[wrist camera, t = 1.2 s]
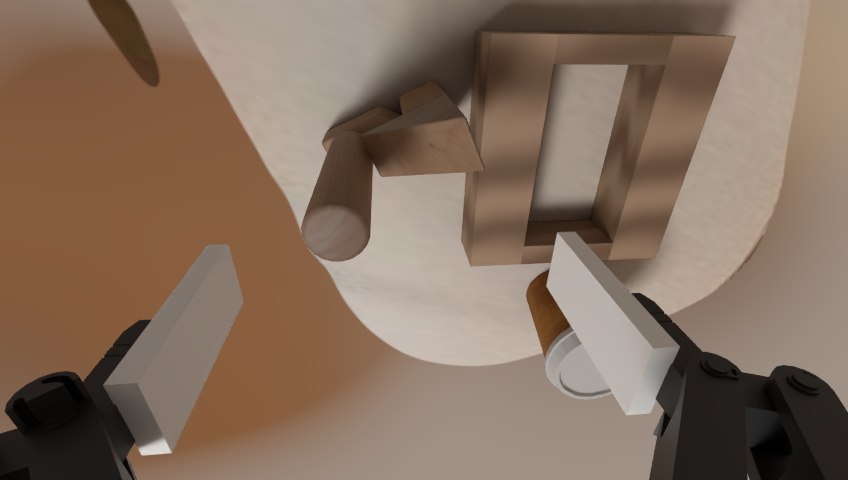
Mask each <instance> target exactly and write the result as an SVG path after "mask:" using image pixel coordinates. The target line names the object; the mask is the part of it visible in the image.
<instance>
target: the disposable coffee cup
mask: <svg viewBox="0 0 848 480" xmlns="http://www.w3.org/2000/svg"><path fill="white" fill-rule="evenodd" d="M548 275H549V271H548V272H545V273H543V274H541V275H539V276H538V277H537V278H535V279H534V280H533V281H532V283H531V284H530V285H529V287H528V290H527V294H526V298H527V302H528V304H529V308H530V311H531V314H532V317H533V321H534V324H535V327H536V330H537V333H538V337H539V340H540V343H541V346H542V350H543V353H544V356H545V371H546V374H547V376H548V379H549V380H550V381H551V383H552V384H553V385H555V386H556V387H558V388H559V389H560V390H561V392H563V393H564V394H566V395H568V396H570V397H573V398H577V399H594V398H600V397H603V396H606V395H609V394H612V391H611V390H610V388H609V386H608V385H607V383H606V382H605V380H604V378H603V377H602V375H601V374H600V372H599V370H598V369H597V367H596V366H595V364H594V362H593V361H592V359H591V357H590V356H589V354H588V353H587V351H586V349H585V348H584V346H583V345H582V343H581V341H580V340H579V338H578V337H577V335H576V333H575V332H574V330H573V328H572V327H571V325H570V324H569V322H568V320H567V319H566V317H565V316H564V314H563V312H562V311H561V309H560V308H559V306H558V304H557V303H556V301H555V300H554V298H553V296H552V295H551V293H550V291H549V290H548V288H547V287H546V285H547V280H548Z"/></svg>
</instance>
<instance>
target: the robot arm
mask: <svg viewBox="0 0 848 480" xmlns="http://www.w3.org/2000/svg"><path fill="white" fill-rule="evenodd" d="M546 287H547V288H548V290H549V291H550V293H551V295H552V296H553V298H554V300H555V301H556V303H557V304H558V306H559V308H560V309H561V311H562V312H563V314H564V316H565V317H566V319H567V320H568V322H569V324H570V325H571V327H572V328H573V330H574V332H575V333H576V335H577V337H578V338H579V340H580V341H581V343H582V345H583V346H584V348H585V349H586V351H587V353H588V354H589V356H590V357H591V359H592V361H593V362H594V364H595V366H596V367H597V369H598V370H599V372H600V374H601V375H602V377H603V378H604V380H605V382H606V383H607V385H608V386H609V388H610V390H611V391H612V393H613V394H614V396H615V398H616V399H617V401H618V403H619V404H620V406H621V407H622V409H623V411H624V412H625V414H626V415H635V414H647V413H650V412H651V410H652V408H653V406H654V403H655V401H656V400H657V401H658V402H659V404H660V405H661V407H662V408H663V409H664V412H663V414H662V416H661V418H660V421H659V423H658V425H657V427H656V429H655V431H654V433H653V434H654V435H656V436H657V440H656V446H655V451H654V457H653V462H652V467H651V473H650V478H649V480H747V473H748V476H749V479H750V480H848V412H847V411H846V409H845V407H844V406H843V404H842V403H841V401H840V400H839V398H838V396H837V395H836V393H835V392H834V391H833V389H831V387H830V386H829V385H828V384H827V383H826V382H824V381H823V380H822V379H820V378H819V377H817V376H816V375H814V374H812V373H810V372H808V371H806V370H803V369H800V368H797V367H794V366H786V365H782V366H777V367H776V368H775V369H774V370H773V371H772V373H771V375H770V376H769V377H765V376H760V375H754V374H749V373H743V372H741V371H740V370H739V369H738V367H737V366H736V365H734V364H733V363H731V362H730V361H728V360H727V359H725V358H723V357H721V356H719V355H716V354H713V353H709V352H702V351H701V350H700V349H699V348H698V347H697V346H696V345H695V343H693V341H692V340H690V338H689V337H688V336H687V335H686V334H685V333H684V332H683V331H682V330H681V329H680V328H679V327H678V326H677V325H676V324H675V323H673V322H672V320H671V319H670V318H669V317H668V316H667V314H664V311H663V310H662V309H661V308H660V307H659V306H658V305H657V304H656V303H655V302H654V301H652V300H651V299H649V298H647V297H646V296H644V295H642V294H641V293H630V291H629V290H628V289H627V288H626V287H625V286H624V285H623V284H622V283H621V282H620V281H619V279H618V278H617V277H616V276H615V275H614V274H613V273H612V272H611V271H610V270H609V268H608V267H607V266H606V265H605V264H604V263H603V262H602V261H601V260H600V259H599V257H598V256H597V255H596V254H595V253H594V252H593V251H592V250H591V249H590V248H589V247H588V245H587V244H586V243H585V242H584V241H583V240H582V239H581V238H580V237H579V236H578V234H577V233H576V232H557V236H556V241H555V246H554V251H553V256H552V261H551V266H550V270H549V275H548V280H547V285H546ZM242 303H243V298H242V294H241V290H240V286H239V283H238V279H237V276H236V271H235V267H234V264H233V260H232V256H231V252H230V248H229V245H228V244H225V245H224V244H223V245H207V247H206V248H205V249H204V250H203V252H202V253H201V255H200V256H199V257H198V259H197V260H196V261H195V263H194V264H193V265H192V267H191V268H190V269H189V271H188V272H187V274H186V275H185V276H184V277H183V279H182V280H181V281H180V283H179V284H178V285H177V287H176V288H175V289H174V291H173V292H172V293H171V295H170V296H169V297H168V299H167V300H166V302H165V303H164V304H163V305H162V307H161V308H160V310H159V311H158V312H157V314H156V315H155V316H154V317H153V319H152V320H139V321H138V322H136V323H135V324H134V325H132V326H131V327H129V328H128V329H127V330H125V331H124V332H123V333H122V334H121V335H120V337H119V338H118V339H117V340H116V342H115V343H114V344H113V347H111V348H110V349H109V350H108V351H107V353H106V354H105V355H104V358H102V359H101V360H100V361H99V363H98V364H97V365H96V366H95V368H94V369H93V370H92V372H91V373H90V374H89V375H88V376H87V377H86V379H85V380H84V381H83V382H82V381H81V379H80V377H79V376H78V375H77V374H76V373H73V372H68V371H65V372H57V373H52V374H49V375H46V376H43V377H40V378H38V379H36V380H34V381H33V382H31V383H29V384H27V385H25V386H24V387H23V388H21V389H20V390H19V391H17V392H16V393H15V394H14V395H13V396H12V397H11V399H10V400H9V401H8V402H7V404H6V409H5V412H6V414H7V415H8V416H9V417H10V419H11V420H12V421H13V423H14V424H15V425H16V427H17V429H14V430H11V431H7V432H4V433H1V434H0V480H137V479H136V476H135V474H134V471H133V469H132V466H131V464H130V462H129V460H128V458H127V457H126V456H127V455H128V453H129V451H130V449H131V448H132V446H133V444H134V442H135V444H136V446H137V447H138V449H139V451H140V453H141V455H152V454H164V453H172V451H173V449H174V447H175V445H176V443H177V441H178V438H179V436H180V434H181V432H182V430H183V428H184V426H185V424H186V422H187V420H188V417H189V415H190V413H191V411H192V409H193V407H194V405H195V403H196V401H197V398H198V396H199V394H200V392H201V390H202V388H203V386H204V384H205V381H206V379H207V377H208V375H209V373H210V371H211V369H212V367H213V365H214V363H215V360H216V358H217V356H218V354H219V352H220V350H221V348H222V346H223V343H224V341H225V339H226V337H227V335H228V333H229V331H230V329H231V327H232V324H233V322H234V320H235V318H236V316H237V314H238V312H239V310H240V308H241V305H242Z"/></svg>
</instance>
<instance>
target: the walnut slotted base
mask: <svg viewBox="0 0 848 480" xmlns="http://www.w3.org/2000/svg"><path fill="white" fill-rule="evenodd" d="M735 38H736V36H723V35H709V34H695V33H633V32H556V31H479V30H476V43H475V57H474V71H473V85H472V99H471V113H470V130H471V132H472V135H473V137H474V140H475V143H476V145H477V148H478V151H479V153H480V156H481V159H482V161H483V164H484V167H485V170H484V171H475V172H466V183H465V197H464V210H463V224H462V238H461V241H462V244H463V246H464V249H465V252H466V255H467V257H468V260H469V263H470V266H489V265H512V264H534V263H551V261H552V256H553V251H554V246H555V241H556V236H557V232H576V233H577V234H578V236H579V237H580V238H581V239H582V240H583V241H584V242H585V243H586V244H587V245H588V247H589V248H590V249H591V250H592V251H593V252H594V253H595V254H596V255H597V256H598V257H599V259H600V260H601V261H603V260H626V259H649V258H655V257H656V255H657V252H658V249H659V246H660V244H661V241H662V238H663V235H664V233H665V230H666V227H667V224H668V222H669V219H670V216H671V213H672V211H673V208H674V205H675V203H676V200H677V197H678V194H679V192H680V189H681V186H682V183H683V181H684V178H685V175H686V172H687V170H688V167H689V164H690V161H691V159H692V156H693V153H694V150H695V148H696V145H697V142H698V139H699V137H700V134H701V131H702V128H703V126H704V123H705V120H706V117H707V115H708V112H709V109H710V107H711V104H712V101H713V98H714V96H715V93H716V90H717V87H718V85H719V82H720V79H721V76H722V74H723V71H724V68H725V65H726V63H727V60H728V57H729V54H730V52H731V49H732V46H733V43H734V41H735ZM554 64H613V65H629V66H628V70H627V74H626V78H625V82H624V86H623V90H622V94H621V98H620V102H619V106H618V110H617V114H616V117H615V121H614V125H613V129H612V133H611V137H610V141H609V145H608V149H607V153H606V157H605V161H604V165H603V169H602V173H601V177H600V181H599V185H598V189H597V193H596V197H595V201H594V205H593V209H592V213H591V217H590V220H567V221H538V222H528V218H529V212H530V206H531V200H532V194H533V187H534V181H535V175H536V169H537V163H538V157H539V151H540V145H541V139H542V133H543V127H544V121H545V114H546V108H547V102H548V96H549V90H550V84H551V78H552V72H553V66H554Z"/></svg>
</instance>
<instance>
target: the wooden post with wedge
mask: <svg viewBox="0 0 848 480" xmlns="http://www.w3.org/2000/svg"><path fill="white" fill-rule="evenodd" d="M399 102H400V106H401V110H402V114H400V113H397V112H394V111H391V110H389V109H386V108H383V107H376V108H373V109H371V110H369V111H367V112H365V113H363V114H361V115H359V116H357V117H355V118H353V119H351V120H349V121H347V122H345V123H343V124H341V125H339V126H336V127H334V128H332V129H330V130H328V131H327V132H326V134H325V136H324V139H323V141H322V145H323V147H324V149H325V150H326V152H327V155H326V158H325V161H324V163H323V166H322V169H321V172H320V175H319V177H318V180H317V183H316V186H315V188H314V191H313V194H312V197H311V199H310V202H309V205H308V208H307V211H306V213H305V216H304V219H303V223H302V227H301V230H302V237H303V239H304V241H305V243H306V245H307V247H308V248H309V249H310V250H311V251H312V252H313V253H314V254H315V255H317V256H319V257H320V258H322V259H325V260H329V261H345V260H349V259H352V258H354V257H355V256H357V255H358V254H360V253H361V252H362V251H363V250H364V248H365V247H366V246H367V244H368V241H369V239H370V227H371V200H372V174H373V164H374V165H375V167H376V168H377V170H378V172H379V174H380V176H381V177H390V176H407V175H424V174H441V173H458V172H475V171H484V170H485V167H484V164H483V161H482V159H481V156H480V153H479V151H478V148H477V145H476V143H475V140H474V137H473V135H472V132H471V130H470V127H469V124H468V122H467V119H466V117H465V116H464V115H463V113H462V112H461V111H460V110H459V109H458V107H457V106H456V105H455V104H454V103H453V101H452V100H451V99H450V98H449V96H448V95H447V94H446V93H445V92H444V91H443V89H442V88H441V87H440V86H439V84H438V83H437V82H436V81H435V80H431V81H429V82H427V83H425V84H423V85H421V86H418V87H416V88H414V89H412V90H410V91H408V92H406V93H404V94H402V95H401V96H400V97H399Z"/></svg>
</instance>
